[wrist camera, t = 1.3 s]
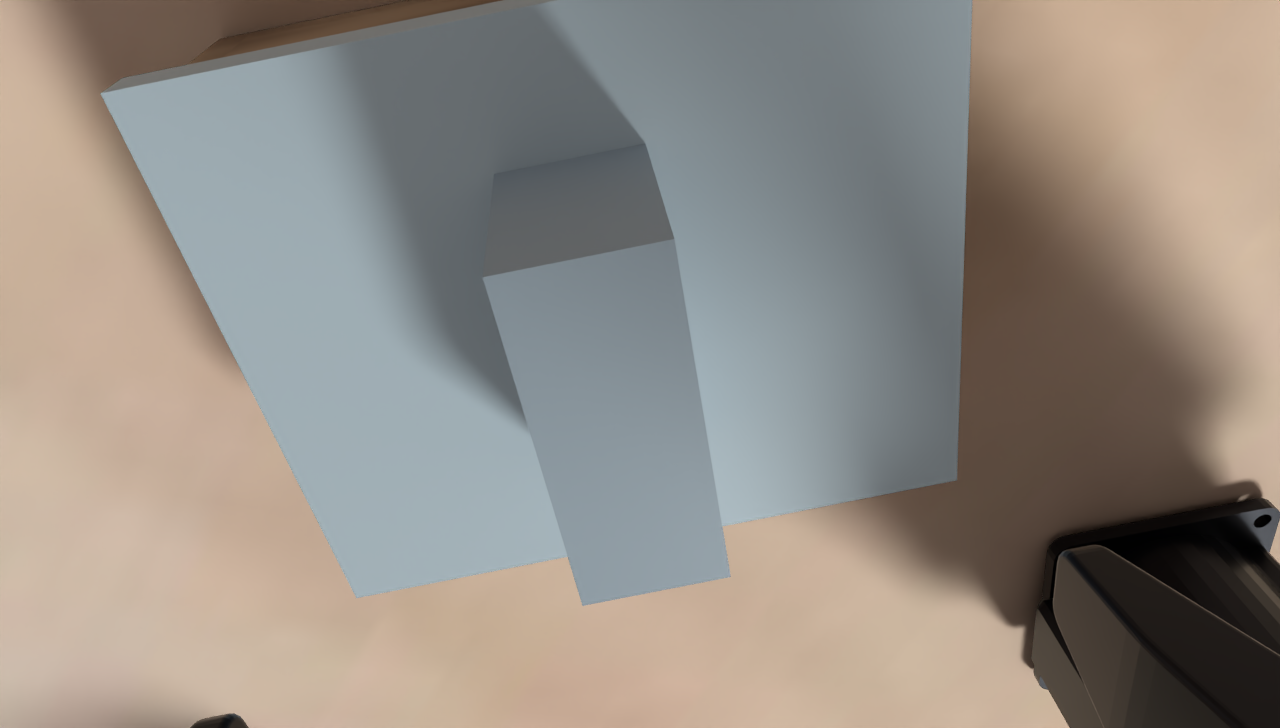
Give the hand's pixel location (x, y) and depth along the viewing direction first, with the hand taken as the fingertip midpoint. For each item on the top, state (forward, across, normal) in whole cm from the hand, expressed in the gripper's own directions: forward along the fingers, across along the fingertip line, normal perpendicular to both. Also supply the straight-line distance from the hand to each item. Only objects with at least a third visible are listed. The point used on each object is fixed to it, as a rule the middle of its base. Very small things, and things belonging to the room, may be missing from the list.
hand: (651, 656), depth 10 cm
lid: (+8, 0, 0) cm, 8 cm away
